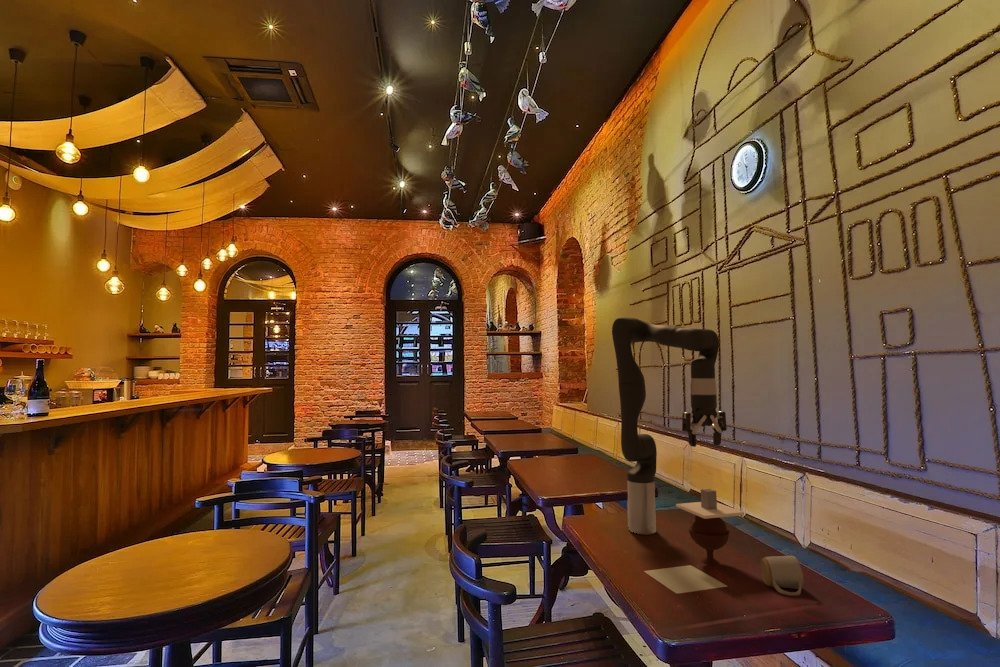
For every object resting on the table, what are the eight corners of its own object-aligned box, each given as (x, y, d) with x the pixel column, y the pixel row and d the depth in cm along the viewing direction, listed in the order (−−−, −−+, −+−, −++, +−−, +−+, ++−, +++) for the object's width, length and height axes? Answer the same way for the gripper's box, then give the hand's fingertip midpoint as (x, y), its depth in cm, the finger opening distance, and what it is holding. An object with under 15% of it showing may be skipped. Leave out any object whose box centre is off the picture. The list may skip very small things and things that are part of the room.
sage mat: (643, 573, 139) (643, 571, 139) (690, 567, 143) (690, 565, 143) (676, 596, 125) (676, 593, 125) (727, 588, 129) (727, 586, 129)
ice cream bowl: (688, 567, 143) (686, 513, 144) (693, 554, 153) (691, 504, 154) (729, 574, 138) (726, 517, 139) (731, 560, 148) (729, 508, 149)
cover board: (676, 506, 151) (675, 486, 151) (713, 503, 154) (712, 484, 155) (704, 518, 138) (703, 497, 139) (744, 515, 142) (743, 493, 142)
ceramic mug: (759, 580, 134) (757, 550, 134) (791, 581, 133) (790, 551, 133) (775, 598, 123) (773, 566, 124) (811, 600, 122) (809, 567, 123)
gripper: (714, 392, 163) (716, 443, 162) (676, 392, 159) (677, 444, 158) (731, 393, 156) (733, 446, 154) (691, 393, 152) (692, 448, 151)
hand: (704, 445), depth 156 cm, fingers open, 8 cm apart
